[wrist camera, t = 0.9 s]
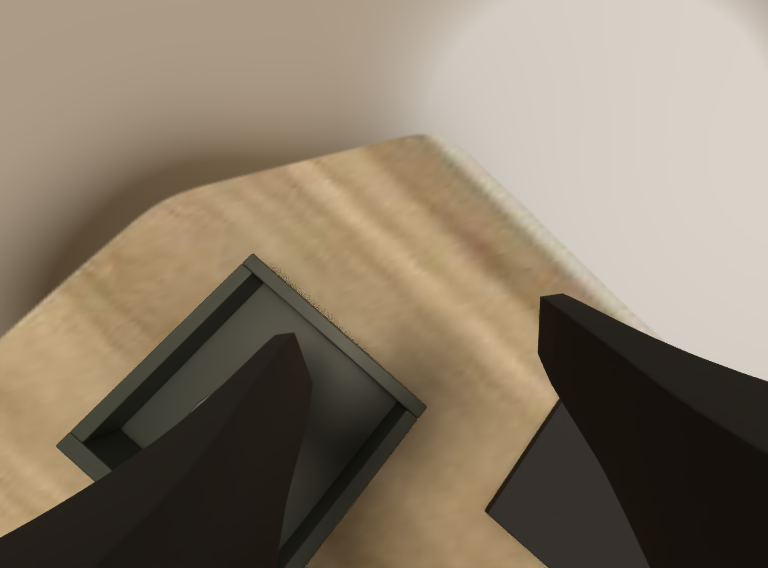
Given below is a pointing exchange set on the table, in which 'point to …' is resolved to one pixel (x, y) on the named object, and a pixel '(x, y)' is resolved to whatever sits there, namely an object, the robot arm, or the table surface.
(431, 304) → the table surface
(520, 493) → the mat
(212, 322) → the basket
